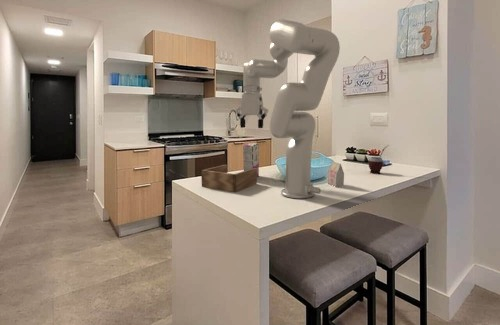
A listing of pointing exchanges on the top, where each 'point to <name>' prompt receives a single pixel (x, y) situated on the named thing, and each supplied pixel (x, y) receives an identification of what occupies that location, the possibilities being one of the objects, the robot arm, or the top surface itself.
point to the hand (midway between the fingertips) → (251, 127)
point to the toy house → (336, 175)
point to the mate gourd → (376, 163)
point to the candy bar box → (251, 156)
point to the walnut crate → (228, 179)
